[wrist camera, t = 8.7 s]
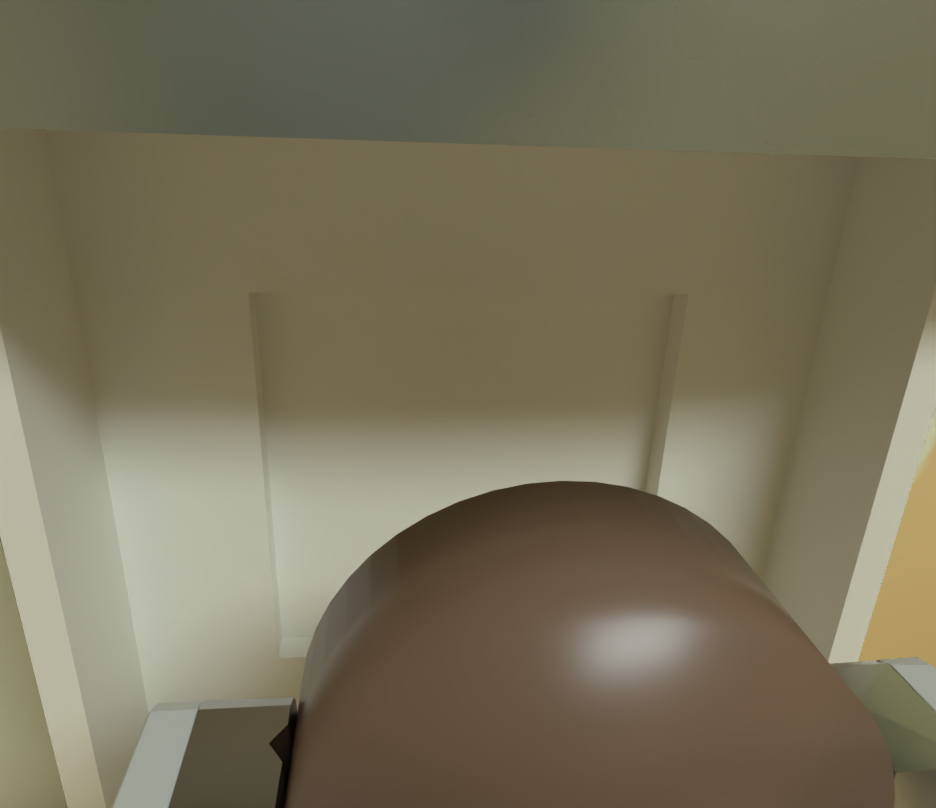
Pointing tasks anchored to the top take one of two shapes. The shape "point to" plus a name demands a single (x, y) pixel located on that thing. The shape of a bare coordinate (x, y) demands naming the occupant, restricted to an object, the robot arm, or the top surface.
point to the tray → (425, 381)
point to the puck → (573, 670)
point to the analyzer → (484, 72)
